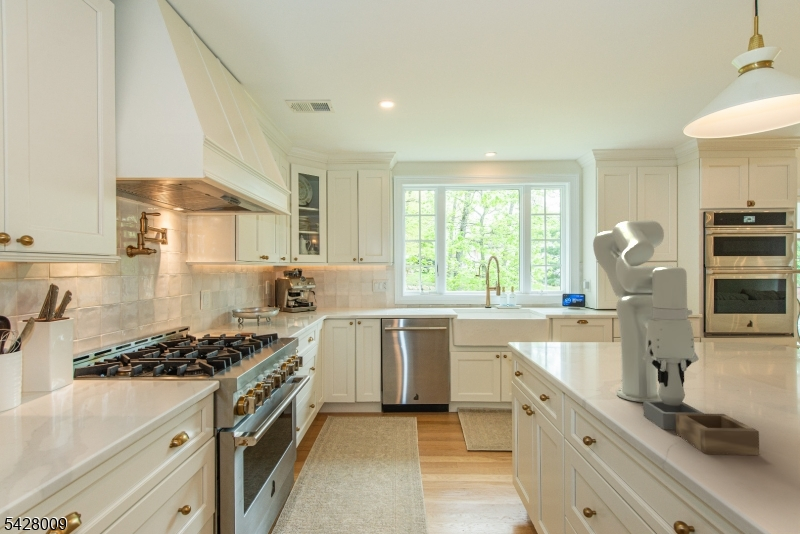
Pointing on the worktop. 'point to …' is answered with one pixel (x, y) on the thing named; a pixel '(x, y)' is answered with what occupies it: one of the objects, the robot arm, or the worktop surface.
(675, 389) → the salt shaker
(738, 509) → the worktop surface
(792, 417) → the worktop surface
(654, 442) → the worktop surface
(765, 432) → the worktop surface
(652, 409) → the grey open tray
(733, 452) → the brown wooden open box
